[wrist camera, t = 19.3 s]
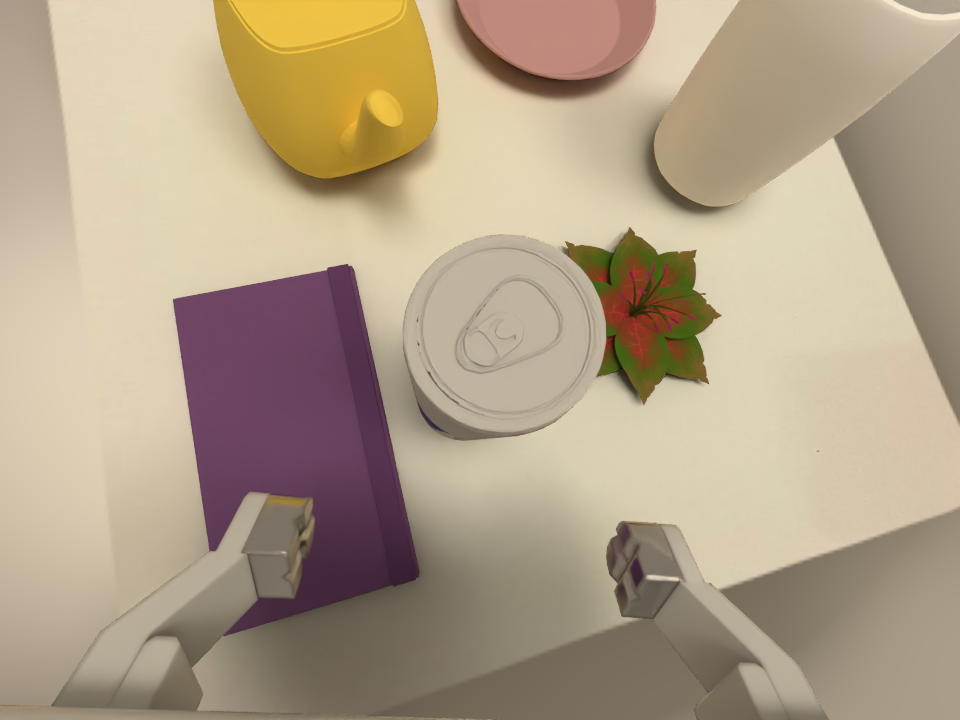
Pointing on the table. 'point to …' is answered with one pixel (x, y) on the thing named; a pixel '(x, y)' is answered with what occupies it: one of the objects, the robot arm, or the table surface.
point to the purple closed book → (296, 429)
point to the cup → (789, 86)
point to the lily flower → (647, 311)
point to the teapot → (331, 78)
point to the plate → (562, 33)
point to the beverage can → (502, 338)
